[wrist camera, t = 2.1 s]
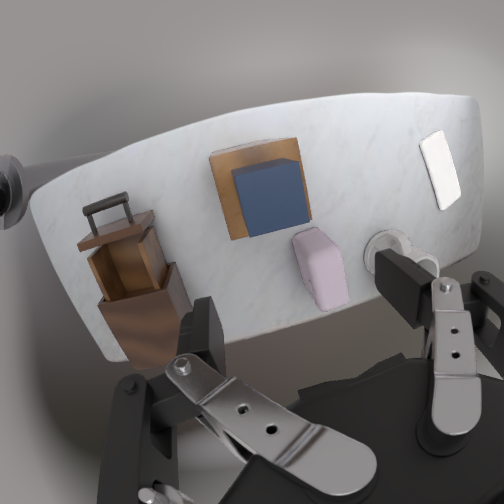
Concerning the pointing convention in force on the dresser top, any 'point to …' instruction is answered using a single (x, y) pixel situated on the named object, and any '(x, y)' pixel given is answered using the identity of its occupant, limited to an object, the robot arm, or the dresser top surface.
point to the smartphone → (441, 169)
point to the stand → (240, 158)
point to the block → (271, 196)
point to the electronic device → (321, 268)
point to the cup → (398, 251)
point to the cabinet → (149, 321)
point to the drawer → (124, 251)
